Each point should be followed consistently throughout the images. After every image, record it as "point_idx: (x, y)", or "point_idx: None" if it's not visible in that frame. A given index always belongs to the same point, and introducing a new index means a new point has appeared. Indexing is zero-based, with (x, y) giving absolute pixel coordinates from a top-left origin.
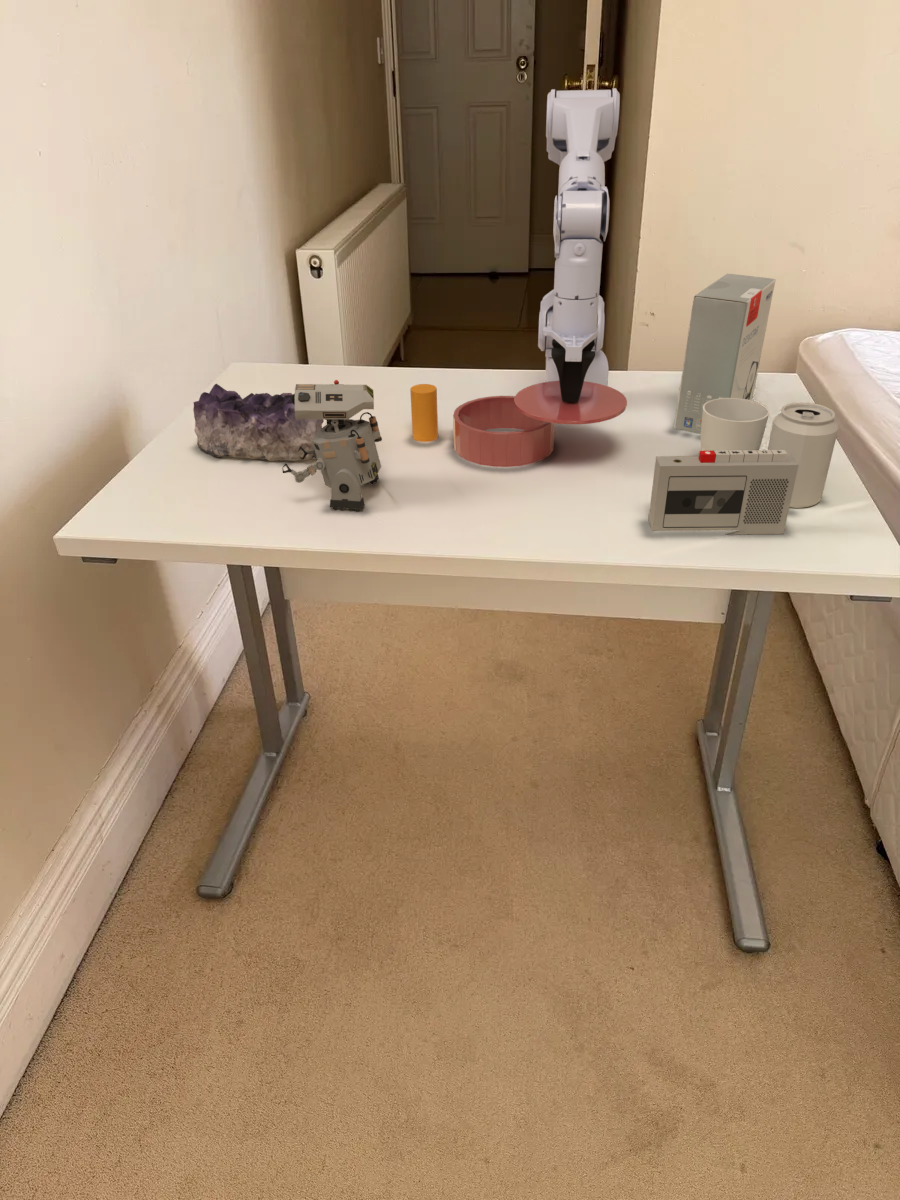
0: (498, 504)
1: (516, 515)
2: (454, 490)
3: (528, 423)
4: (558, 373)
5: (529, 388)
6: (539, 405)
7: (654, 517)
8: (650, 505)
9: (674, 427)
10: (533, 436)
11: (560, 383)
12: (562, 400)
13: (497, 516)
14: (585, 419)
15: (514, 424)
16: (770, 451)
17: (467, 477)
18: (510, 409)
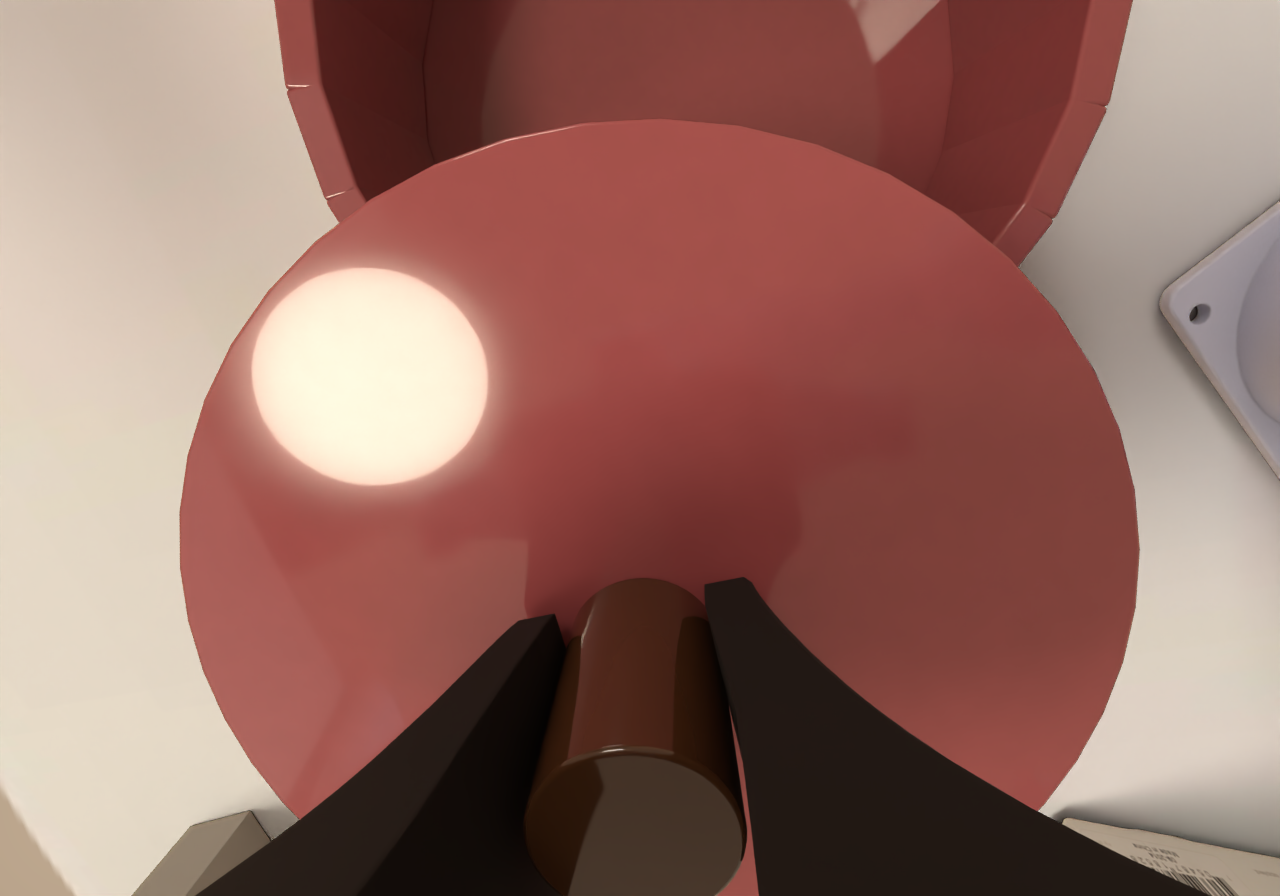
0: (103, 297)
1: (62, 400)
2: (108, 23)
3: (951, 181)
4: (273, 843)
5: (836, 213)
6: (419, 438)
7: (138, 889)
8: (194, 879)
9: (1069, 827)
10: None
11: (401, 736)
12: (512, 625)
13: (8, 327)
14: (301, 801)
15: (967, 78)
16: None
17: (273, 35)
18: (1026, 3)
